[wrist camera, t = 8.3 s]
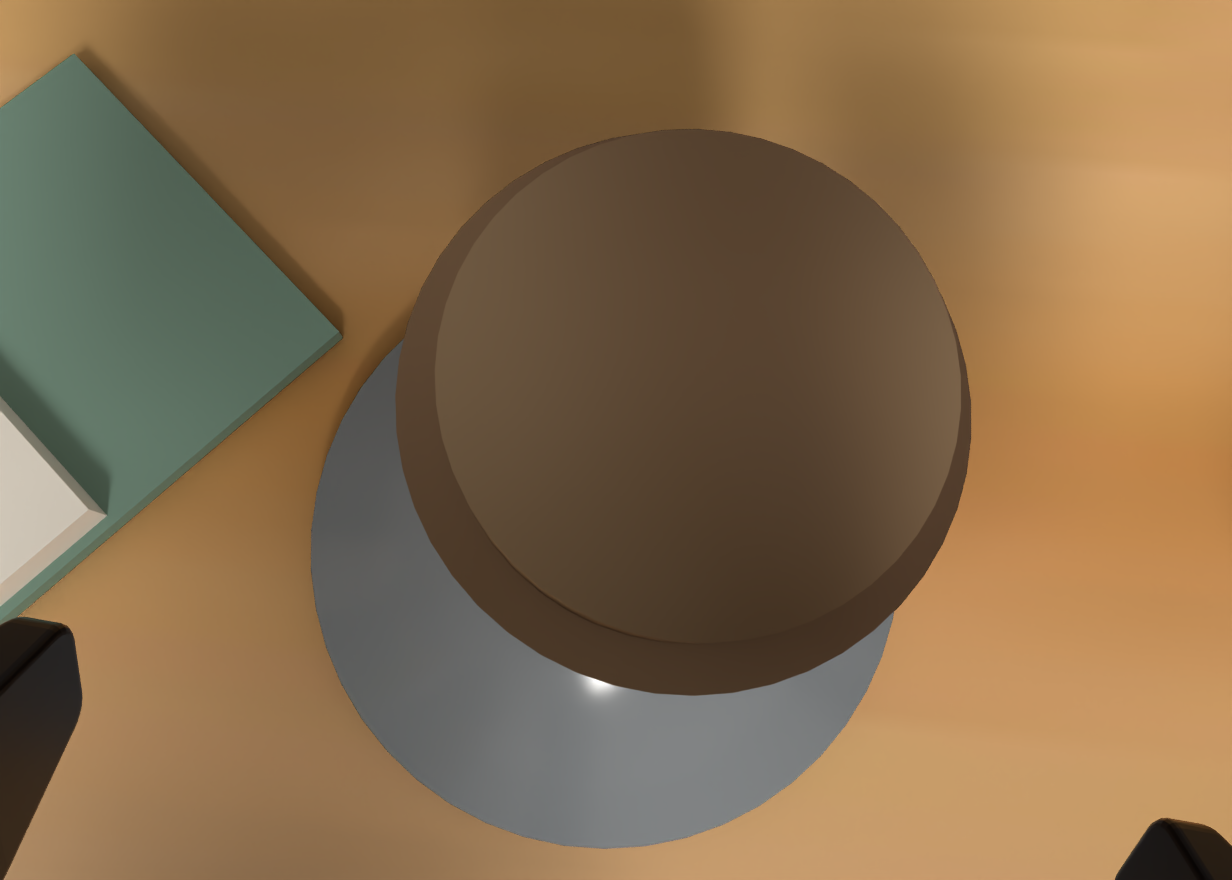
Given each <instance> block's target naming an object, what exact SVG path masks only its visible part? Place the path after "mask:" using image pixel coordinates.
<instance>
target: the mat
mask: <svg viewBox="0 0 1232 880" xmlns="http://www.w3.org/2000/svg"><path fill="white" fill-rule="evenodd" d="M342 338H343V337H342V335H341V334H340V332H339V331H338V330H337V329H336V328H335V327H334V326H333V325H332V324H331V323H330V322H329V321H328V319H327V318H326V317H325V316H324V315H323V314H322V313H321V312H320V311H319V310H318V309H317V308H316V307H315V306H314V305H313V304H312V303H311V302H310V301H309V300H308V299H307V297H306V296H305V295H304V294H303V293H302V292H301V291H300V290H299V289H298V288H297V287H296V286H295V285H294V284H293V283H292V282H291V281H290V280H289V279H288V278H287V276H286V275H285V274H284V273H283V272H282V271H281V270H280V269H279V268H278V267H277V266H276V265H275V264H274V263H273V262H272V261H271V260H270V259H269V258H268V257H267V255H266V254H265V253H264V252H263V251H262V250H261V249H260V248H259V247H258V246H257V245H256V244H255V243H254V242H253V241H252V240H251V239H250V238H249V237H248V236H247V234H246V233H245V232H244V231H243V230H242V229H241V228H240V227H239V226H238V225H237V224H236V223H235V222H234V221H233V220H232V219H231V218H230V217H229V216H228V215H227V213H226V212H225V211H224V210H223V209H222V208H221V207H220V206H219V205H218V204H217V203H216V202H215V201H214V200H213V199H212V198H211V197H210V196H209V195H208V194H207V192H206V191H205V190H204V189H203V188H202V187H201V186H200V185H199V184H198V183H197V182H196V181H195V180H194V179H193V178H192V177H191V176H190V175H189V174H188V173H187V171H186V170H185V169H184V168H183V167H182V166H181V165H180V164H179V163H178V162H177V161H176V160H175V159H174V158H173V157H172V156H171V155H170V154H169V153H168V152H167V150H166V149H165V148H164V147H163V146H162V145H161V144H160V143H159V142H158V141H157V140H156V139H155V138H154V137H153V136H152V135H151V134H150V133H149V132H148V131H147V129H146V128H145V127H144V126H143V125H142V124H141V123H140V122H139V121H138V120H137V119H136V118H135V117H134V116H133V115H132V114H131V113H130V112H129V111H128V110H127V108H126V107H125V106H124V105H123V104H122V103H121V102H120V101H119V100H118V99H117V98H116V97H115V96H114V95H113V94H112V93H111V92H110V91H109V90H108V89H107V87H106V86H105V85H104V84H103V83H102V82H101V81H100V80H99V79H98V78H97V77H96V76H95V75H94V74H93V73H92V72H91V71H90V70H89V69H88V68H87V66H86V65H85V64H84V63H83V62H82V61H81V60H80V59H79V58H78V57H77V56H76V55H75V54H72V55H71V56H70V57H68V58H67V59H66V60H64V61H63V62H62V63H60V64H59V65H58V66H56V67H55V68H54V69H52V70H51V71H50V72H48V73H47V74H46V75H44V76H43V77H41V78H40V79H39V80H37V81H36V82H35V83H33V84H32V85H31V86H29V87H28V88H27V89H25V90H24V91H23V92H21V93H20V94H19V95H17V96H16V97H15V98H13V99H12V100H11V101H9V102H8V103H7V104H5V105H4V106H3V107H1V108H0V624H2V623H4V622H6V621H8V620H10V619H13V618H16V617H17V616H18V615H20V614H21V613H22V612H23V611H24V610H25V609H27V608H28V607H29V606H30V605H31V604H32V603H34V602H35V601H36V600H37V599H38V598H39V597H41V596H42V595H43V594H44V593H45V592H46V591H48V590H49V589H50V588H51V587H52V586H53V585H55V584H56V583H57V582H58V581H59V580H60V579H62V578H63V577H64V576H65V575H66V574H68V573H69V572H70V571H71V570H72V569H73V568H75V567H76V566H77V565H78V564H79V563H80V562H82V561H83V560H84V559H85V558H86V557H87V556H89V555H90V554H91V553H92V552H93V551H94V550H96V549H97V548H98V547H99V546H100V545H101V544H103V543H104V542H105V541H106V540H107V539H108V538H110V537H111V536H112V535H113V534H114V533H115V532H117V531H118V530H119V529H120V528H121V527H122V526H124V525H125V524H126V523H127V522H128V521H129V520H131V519H132V518H133V517H134V516H135V515H136V514H138V513H139V512H140V511H141V510H142V509H143V508H145V507H146V506H147V505H148V504H149V503H150V502H152V501H153V500H154V499H155V498H156V497H157V496H159V495H160V494H161V493H162V492H163V491H165V490H166V489H167V488H168V487H169V486H170V485H172V484H173V483H174V482H175V481H176V480H177V479H179V478H180V477H181V476H182V475H183V474H184V473H186V472H187V471H188V470H189V469H190V468H191V467H193V466H194V465H195V464H196V463H197V462H198V461H200V460H201V459H202V458H203V457H204V456H205V455H207V454H208V453H209V452H210V451H211V450H212V449H214V448H215V447H216V446H217V445H218V444H219V443H221V442H222V441H223V440H224V439H225V438H226V437H228V436H229V435H230V434H231V433H232V432H233V431H235V430H236V429H237V428H238V427H239V426H240V425H242V424H243V423H244V422H245V421H246V420H247V419H249V418H250V417H251V416H252V415H253V414H255V413H256V412H257V411H258V410H259V409H260V408H262V407H263V406H264V405H265V404H266V403H267V402H269V401H270V400H271V399H272V398H273V397H274V396H276V395H277V394H278V393H279V392H280V391H281V390H283V389H284V388H285V387H286V386H287V385H288V384H290V383H291V382H292V381H293V380H294V379H295V378H297V377H298V376H299V375H300V374H301V373H302V372H304V371H305V370H306V369H307V368H308V367H309V366H311V365H312V364H313V363H314V362H315V361H316V360H318V359H319V358H320V357H321V356H322V355H323V354H325V353H326V352H327V351H328V350H329V349H330V348H332V347H333V346H334V345H335V344H336V343H337V342H339V341H340V340H341V339H342Z"/></svg>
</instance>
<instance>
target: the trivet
mask: <svg viewBox="0 0 1232 880" xmlns="http://www.w3.org/2000/svg"><path fill="white" fill-rule="evenodd" d="M403 341H404V339H403V340H402V341H401V342H400V343H399V344H398V345H397V346H396V347H395V348H394V349H393V350H392V351H391V352H390V353H389V354H388V355H387V356H386V357H385V358H384V359H383V360H382V361H381V363H380V364H379V365H378V367H377V368H376V369H375V370H374V372H373V373H372V374H371V376H370V377H369V378H368V379H367V381H366V382H365V383H364V385H363V386H362V387H361V389H360V391H359V392H358V394H357V396H356V397H355V399H354V401H353V402H352V404H351V406H350V407H349V409H348V411H347V412H346V414H345V416H344V418H343V419H342V421H341V424H340V426H339V428H338V431H337V433H336V435H335V438H334V440H333V443H332V445H331V447H330V450H329V452H328V454H327V457H326V461H325V465H324V468H323V472H322V475H321V479H320V482H319V486H318V490H317V494H316V502H315V509H314V516H313V523H312V530H311V573H312V581H313V589H314V597H315V605H316V611H317V615H318V618H319V622H320V626H321V630H322V633H323V637H324V641H325V645H326V648H327V650H328V653H329V655H330V658H331V660H332V662H333V665H334V667H335V670H336V672H337V674H338V677H339V679H340V682H341V684H342V686H343V688H344V689H345V691H346V693H347V694H348V696H349V698H350V700H351V701H352V703H353V705H354V706H355V708H356V710H357V711H358V713H359V715H360V717H361V718H362V720H363V721H364V722H365V724H366V725H367V726H368V727H369V729H370V730H371V731H372V733H373V734H374V735H375V736H376V738H377V739H378V740H379V741H380V743H381V744H382V745H383V746H384V748H385V749H386V750H387V751H388V752H389V753H390V754H391V755H392V756H393V757H394V758H395V759H396V760H397V761H398V762H399V763H400V764H401V765H402V766H403V767H404V768H405V769H406V770H407V771H408V772H409V773H410V774H411V775H412V776H413V777H415V778H416V779H417V780H418V781H419V782H421V783H422V784H423V785H425V786H426V787H428V788H429V789H430V790H432V791H433V792H434V793H436V794H437V795H439V796H440V797H441V798H443V799H444V800H445V801H447V802H448V803H450V804H451V805H453V806H455V807H457V808H459V809H461V810H463V811H465V812H466V813H468V814H470V815H472V816H474V817H476V818H478V819H480V820H481V821H483V822H485V823H488V824H490V825H493V826H496V827H498V828H501V829H504V830H507V831H509V832H512V833H515V834H517V835H520V836H523V837H527V838H531V839H536V840H540V841H545V842H550V843H554V844H559V845H563V846H575V847H589V848H602V849H608V848H624V847H640V846H649V845H654V844H658V843H663V842H668V841H673V840H678V839H683V838H687V837H690V836H692V835H695V834H698V833H701V832H704V831H707V830H709V829H712V828H715V827H718V826H721V825H723V824H725V823H727V822H729V821H731V820H733V819H735V818H737V817H739V816H741V815H743V814H745V813H747V812H749V811H750V810H752V809H754V808H756V807H758V806H760V805H761V804H763V803H764V802H766V801H767V800H768V799H770V798H771V797H773V796H774V795H775V794H777V793H778V792H780V791H781V790H783V789H784V788H785V787H787V786H788V785H790V784H791V783H792V782H793V781H794V780H795V779H797V778H798V777H799V776H800V775H801V774H802V773H803V772H804V771H805V770H806V769H807V768H808V767H809V766H810V765H812V764H813V763H814V762H815V761H816V760H817V759H818V758H819V757H820V756H821V755H822V754H823V753H824V751H825V750H826V749H827V748H828V746H829V745H830V744H831V743H832V741H833V740H834V739H835V738H836V737H837V735H838V734H839V733H840V732H841V730H842V729H843V728H844V727H845V726H846V724H847V722H848V721H849V719H850V717H851V716H852V714H853V713H854V711H855V709H856V708H857V706H858V704H859V703H860V701H861V700H862V698H863V696H864V695H865V693H866V691H867V689H868V687H869V684H870V682H871V680H872V678H873V675H874V673H875V671H876V669H877V666H878V664H879V662H880V660H881V657H882V654H883V651H884V647H885V644H886V641H887V637H888V634H889V630H890V627H891V623H892V620H893V614H894V612H893V613H892V614H891V615H890V616H889V617H888V618H887V619H885V620H884V621H883V622H882V623H881V624H880V625H879V626H878V627H877V628H876V629H875V630H874V631H873V632H871V633H870V634H869V635H867V636H866V637H864V638H863V639H862V640H860V641H859V642H857V643H856V644H855V645H853V646H852V647H851V648H849V649H848V650H846V651H845V652H844V653H842V654H840V655H838V656H836V657H835V658H833V659H831V660H829V661H827V662H825V663H823V664H821V665H819V666H818V667H816V668H814V669H812V670H810V671H808V672H805V673H802V674H800V675H797V676H794V677H791V678H789V679H786V680H783V681H780V682H778V683H775V684H772V685H768V686H763V687H759V688H754V689H749V690H745V691H740V692H735V693H726V694H712V695H699V696H687V695H670V694H654V693H649V692H644V691H639V690H634V689H628V688H623V687H618V686H614V685H611V684H608V683H605V682H602V681H599V680H596V679H593V678H590V677H587V676H585V675H582V674H579V673H576V672H574V671H572V670H570V669H568V668H566V667H564V666H562V665H560V664H558V663H556V662H554V661H552V660H550V659H548V658H546V657H544V656H542V655H540V654H539V653H537V652H536V651H534V650H533V649H531V648H530V647H528V646H527V645H525V644H524V643H522V642H521V641H520V640H518V639H517V638H515V637H514V636H512V635H511V634H509V633H508V632H507V631H505V630H504V629H503V628H502V627H501V626H500V625H499V624H498V623H497V622H495V621H494V620H493V619H492V618H491V617H490V616H489V615H488V614H486V613H485V612H484V611H483V610H482V609H481V608H480V607H479V606H478V605H477V604H476V603H475V602H474V601H473V600H472V598H471V597H470V596H469V595H468V594H467V592H466V591H465V590H464V589H463V588H462V587H461V585H460V584H459V583H458V582H457V581H456V580H455V578H454V577H453V576H452V575H451V573H450V572H449V570H448V568H447V567H446V565H445V564H444V562H443V561H442V559H441V558H440V556H439V555H438V553H437V551H436V550H435V548H434V547H433V545H432V544H431V542H430V540H429V538H428V536H427V533H426V531H425V529H424V527H423V525H422V523H421V521H420V518H419V516H418V514H417V512H416V510H415V508H414V505H413V502H412V498H411V495H410V492H409V489H408V486H407V482H406V479H405V476H404V473H403V469H402V463H401V457H400V451H399V445H398V439H397V433H396V402H395V393H396V384H397V374H398V365H399V357H400V353H401V349H402V345H403Z"/></svg>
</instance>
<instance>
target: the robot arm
mask: <svg viewBox="0 0 1232 880" xmlns="http://www.w3.org/2000/svg"><path fill="white" fill-rule="evenodd" d="M81 707H82V688H81V682H80V675H79V668H78V661H77V654H76V647H75V640H74V636H73V633H72V631H71V630H70V629H69V627H68V626H66V625H64V624H62V623H56V622H51V621H45V620H39V619H34V618H28V617H17V618H13V619H10V620H8V621H6V622H4V623H2V624H0V880H4V878H5V876H6V874H7V872H8V869H9V867H10V865H11V863H12V861H13V859H14V857H15V855H16V852H17V850H18V848H19V846H20V844H21V842H22V840H23V837H24V835H25V833H26V831H27V829H28V827H29V825H30V823H31V820H32V818H33V816H34V814H35V812H36V810H37V808H38V805H39V803H40V801H41V799H42V797H43V795H44V793H45V791H46V788H47V786H48V784H49V782H50V780H51V778H52V776H53V773H54V771H55V769H56V767H57V765H58V763H59V761H60V759H61V756H62V754H63V752H64V750H65V748H66V746H67V744H68V741H69V739H70V737H71V735H72V733H73V731H74V729H75V726H76V724H77V722H78V718H79V715H80V711H81ZM1115 880H1232V846H1231V845H1230V844H1229V843H1228V842H1227V841H1226V840H1225V839H1224V838H1223V837H1222V836H1221V835H1220V834H1219V833H1218V832H1217V831H1215V830H1214V829H1212V828H1211V827H1208V826H1206V825H1203V824H1198V823H1193V822H1187V821H1181V820H1175V819H1170V818H1161V819H1159V820H1157V821H1155V822H1153V823H1152V824H1151V825H1150V826H1149V827H1148V829H1147V830H1146V832H1145V833H1144V835H1143V836H1142V838H1141V839H1140V841H1139V842H1138V843H1137V845H1136V846H1135V848H1134V849H1133V851H1132V852H1131V854H1130V855H1129V857H1128V858H1127V860H1126V861H1125V863H1124V864H1123V866H1122V867H1121V869H1120V870H1119V872H1118V873H1117V875H1116V878H1115Z"/></svg>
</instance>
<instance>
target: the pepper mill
mask: <svg viewBox="0 0 1232 880" xmlns="http://www.w3.org/2000/svg"><path fill="white" fill-rule="evenodd" d="M395 402H396V433H397V439H398V445H399V451H400V457H401V463H402V469H403V473H404V476H405V479H406V482H407V486H408V489H409V492H410V495H411V498H412V502H413V505H414V508H415V510H416V512H417V514H418V516H419V518H420V521H421V523H422V525H423V527H424V529H425V531H426V533H427V536H428V538H429V540H430V542H431V544H432V545H433V547H434V548H435V550H436V551H437V553H438V555H439V556H440V558H441V559H442V561H443V562H444V564H445V565H446V567H447V568H448V570H449V572H450V573H451V575H452V576H453V577H454V578H455V580H456V581H457V582H458V583H459V584H460V585H461V587H462V588H463V589H464V590H465V591H466V592H467V594H468V595H469V596H470V597H471V598H472V600H473V601H474V602H475V603H476V604H477V605H478V606H479V607H480V608H481V609H482V610H483V611H484V612H485V613H486V614H488V615H489V616H490V617H491V618H492V619H493V620H494V621H495V622H497V623H498V624H499V625H500V626H501V627H502V628H503V629H504V630H505V631H507V632H508V633H509V634H511V635H512V636H514V637H515V638H517V639H518V640H520V641H521V642H522V643H524V644H525V645H527V646H528V647H530V648H531V649H533V650H534V651H536V652H537V653H539V654H540V655H542V656H544V657H546V658H548V659H550V660H552V661H554V662H556V663H558V664H560V665H562V666H564V667H566V668H568V669H570V670H572V671H574V672H576V673H579V674H582V675H585V676H587V677H590V678H593V679H596V680H599V681H602V682H605V683H608V684H611V685H614V686H618V687H623V688H628V689H634V690H639V691H644V692H649V693H654V694H670V695H687V696H699V695H712V694H726V693H735V692H740V691H745V690H749V689H754V688H759V687H763V686H768V685H772V684H775V683H778V682H780V681H783V680H786V679H789V678H791V677H794V676H797V675H800V674H802V673H805V672H808V671H810V670H812V669H814V668H816V667H818V666H819V665H821V664H823V663H825V662H827V661H829V660H831V659H833V658H835V657H836V656H838V655H840V654H842V653H844V652H845V651H846V650H848V649H849V648H851V647H852V646H853V645H855V644H856V643H857V642H859V641H860V640H862V639H863V638H864V637H866V636H867V635H869V634H870V633H871V632H873V631H874V630H875V629H876V628H877V627H878V626H879V625H880V624H881V623H882V622H883V621H884V620H885V619H887V618H888V617H889V616H890V615H891V614H892V613H893V612H894V611H895V610H896V609H897V608H898V607H899V606H900V605H901V604H902V603H903V601H904V600H905V599H906V598H907V596H908V595H909V594H910V593H911V591H912V590H913V589H914V588H915V586H916V585H917V584H918V582H919V581H920V580H921V579H922V577H923V576H924V575H925V573H926V571H927V570H928V568H929V566H930V565H931V563H932V561H933V559H934V558H935V556H936V554H937V553H938V551H939V549H940V548H941V546H942V544H943V542H944V540H945V537H946V535H947V532H948V530H949V528H950V525H951V523H952V520H953V518H954V516H955V513H956V511H957V508H958V504H959V500H960V497H961V493H962V489H963V485H964V482H965V478H966V474H967V466H968V458H969V450H970V442H971V399H970V392H969V385H968V378H967V371H966V364H965V361H964V357H963V353H962V350H961V346H960V342H959V339H958V335H957V332H956V329H955V326H954V324H953V321H952V319H951V317H950V314H949V312H948V309H947V307H946V305H945V302H944V300H943V297H942V296H941V294H940V292H939V290H938V287H937V285H936V283H935V280H934V279H933V277H932V275H931V273H930V272H929V270H928V268H927V266H926V265H925V263H924V261H923V259H922V258H921V256H920V254H919V252H918V251H917V250H916V248H915V247H914V246H913V244H912V243H911V242H910V240H909V239H908V238H907V236H906V235H905V234H904V232H903V231H902V230H901V228H900V227H899V226H898V225H897V224H896V223H895V222H894V221H893V219H892V218H891V217H890V216H889V215H888V214H887V213H886V212H885V211H884V210H883V209H882V208H881V207H880V206H879V205H878V204H877V203H876V202H875V201H874V200H873V199H871V198H870V197H869V196H868V195H867V194H865V193H864V192H863V191H862V190H860V189H859V188H858V187H857V186H856V185H854V184H853V183H852V182H851V181H849V180H848V179H846V178H844V177H843V176H841V175H840V174H838V173H837V172H835V171H833V170H832V169H830V168H829V167H827V166H826V165H824V164H822V163H820V162H818V161H816V160H814V159H812V158H810V157H808V156H806V155H804V154H802V153H799V152H797V151H795V150H793V149H791V148H788V147H785V146H782V145H779V144H776V143H773V142H770V141H767V140H764V139H761V138H756V137H751V136H747V135H742V134H737V133H732V132H725V131H714V130H702V129H682V130H661V131H655V132H649V133H642V134H636V135H629V136H623V137H617V138H611V139H608V140H604V141H601V142H597V143H594V144H590V145H587V146H583V147H580V148H577V149H574V150H572V151H570V152H568V153H565V154H563V155H561V156H558V157H556V158H554V159H551V160H549V161H547V162H544V163H543V164H541V165H539V166H538V167H536V168H534V169H533V170H531V171H529V172H528V173H526V174H524V175H523V176H521V177H519V178H517V179H516V180H514V181H513V182H512V183H510V184H509V185H508V186H506V187H505V188H504V189H503V190H501V191H500V192H499V193H497V194H496V195H495V196H494V197H492V198H491V199H490V200H488V201H487V202H486V203H485V204H484V205H483V206H482V207H481V208H480V209H479V210H478V211H477V212H476V213H475V214H474V215H473V216H472V217H471V218H470V219H469V220H468V221H467V222H466V223H465V224H464V225H463V226H462V227H461V228H460V230H459V231H458V232H457V234H456V235H455V236H454V238H453V239H452V240H451V242H450V243H449V244H448V246H447V247H446V248H445V250H444V251H443V252H442V254H441V255H440V256H439V258H438V260H437V262H436V263H435V265H434V267H433V269H432V271H431V272H430V274H429V276H428V278H427V279H426V281H425V283H424V285H423V287H422V288H421V291H420V293H419V296H418V298H417V301H416V304H415V306H414V309H413V311H412V314H411V316H410V319H409V321H408V325H407V329H406V333H405V337H404V341H403V345H402V349H401V353H400V357H399V365H398V374H397V384H396V393H395Z"/></svg>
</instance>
